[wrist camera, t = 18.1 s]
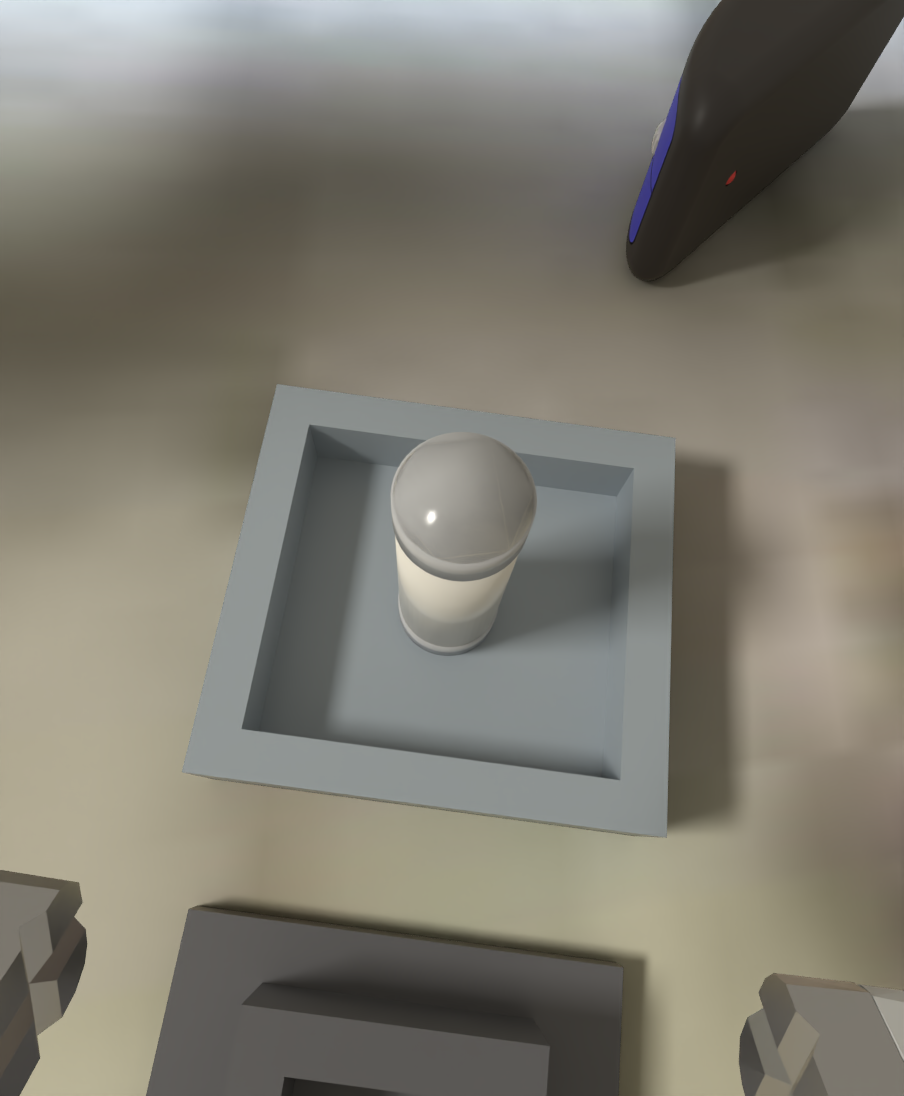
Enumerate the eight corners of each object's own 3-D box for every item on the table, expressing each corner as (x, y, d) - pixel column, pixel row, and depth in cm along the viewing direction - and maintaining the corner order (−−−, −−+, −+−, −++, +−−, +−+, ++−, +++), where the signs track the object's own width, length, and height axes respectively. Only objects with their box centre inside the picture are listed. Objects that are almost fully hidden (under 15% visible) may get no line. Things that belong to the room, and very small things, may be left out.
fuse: (391, 648, 27) (379, 555, 18) (406, 556, 28) (402, 423, 19) (490, 662, 27) (530, 575, 18) (500, 569, 28) (542, 442, 19)
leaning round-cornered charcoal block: (770, 82, 40) (872, -131, 31) (841, 129, 39) (966, -76, 30) (570, 245, 35) (622, 51, 26) (644, 303, 34) (724, 122, 25)
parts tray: (211, 778, 26) (181, 772, 23) (291, 430, 31) (276, 383, 28) (635, 835, 26) (666, 837, 23) (647, 478, 31) (675, 437, 28)
